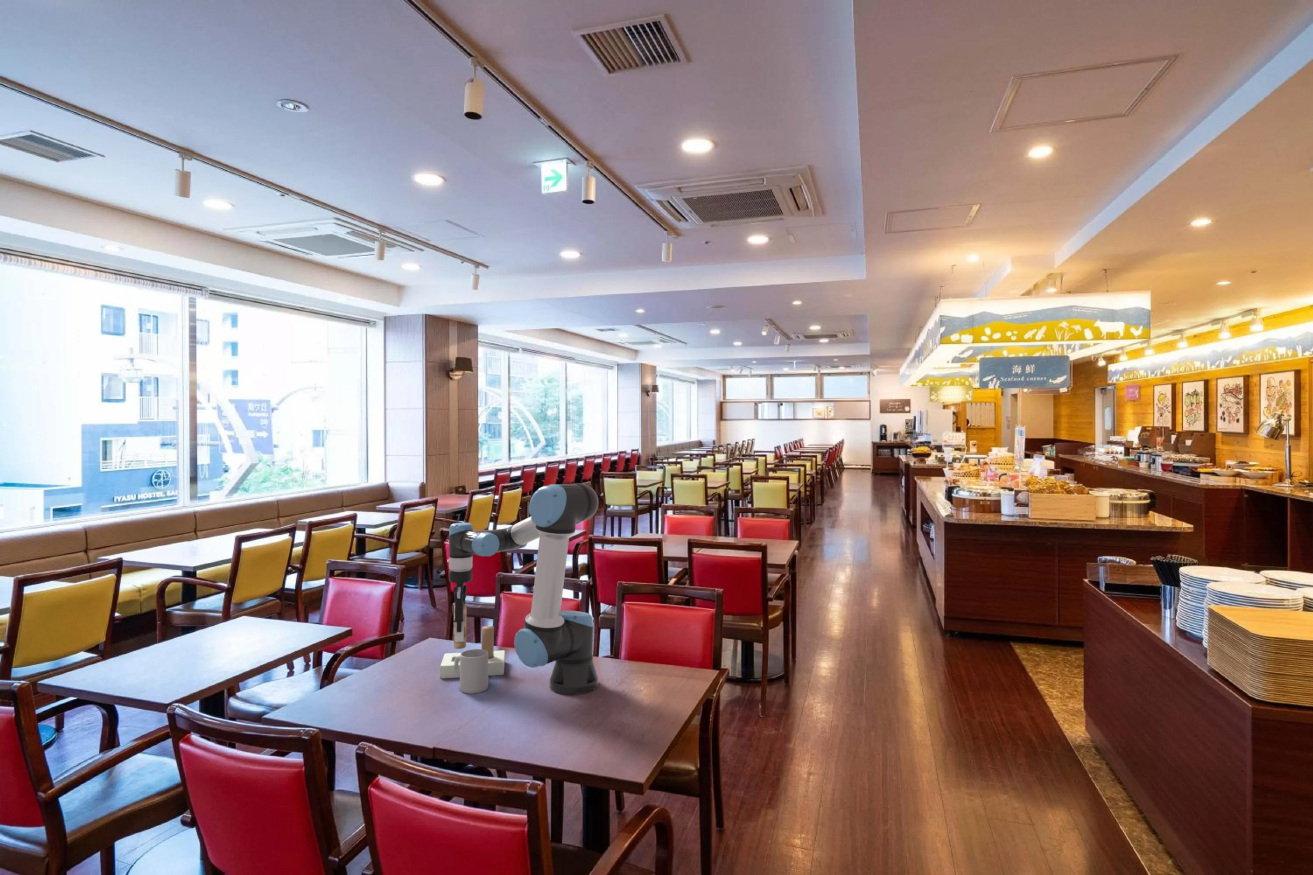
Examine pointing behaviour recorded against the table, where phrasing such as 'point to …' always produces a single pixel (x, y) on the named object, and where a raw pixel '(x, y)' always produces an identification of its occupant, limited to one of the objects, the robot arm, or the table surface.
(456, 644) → the oak leg
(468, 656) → the mug
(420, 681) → the table surface
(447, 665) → the cream base with post
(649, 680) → the table surface
